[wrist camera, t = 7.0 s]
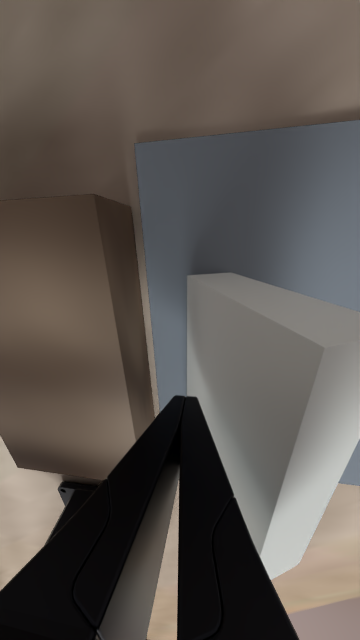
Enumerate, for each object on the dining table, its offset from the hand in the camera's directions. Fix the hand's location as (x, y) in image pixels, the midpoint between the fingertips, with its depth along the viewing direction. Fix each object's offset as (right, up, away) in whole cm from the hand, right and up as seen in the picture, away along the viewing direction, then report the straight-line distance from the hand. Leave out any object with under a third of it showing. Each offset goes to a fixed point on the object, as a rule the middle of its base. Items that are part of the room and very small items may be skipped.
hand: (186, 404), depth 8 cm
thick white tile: (+1, 0, 0) cm, 1 cm away
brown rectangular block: (-6, +2, +4) cm, 8 cm away
